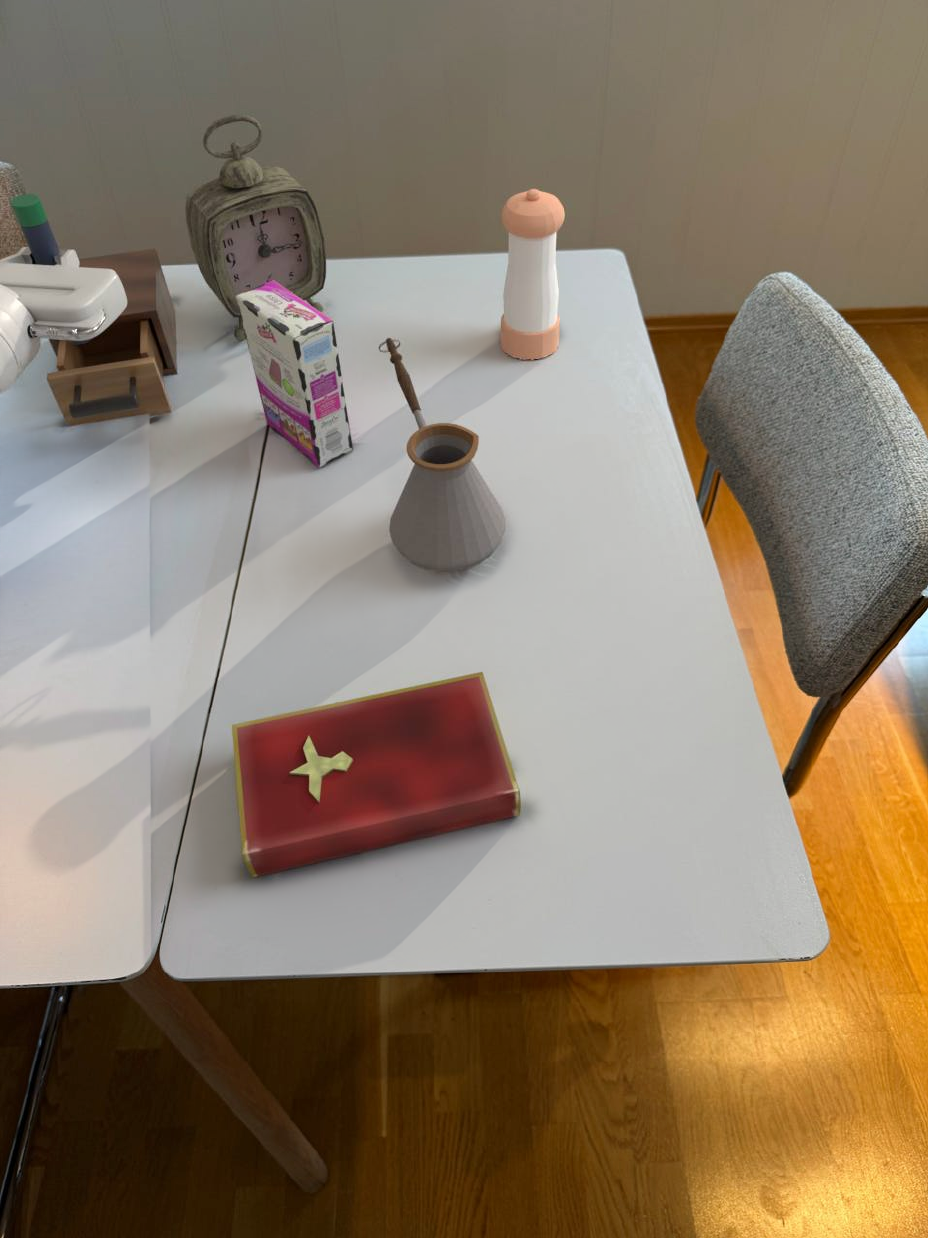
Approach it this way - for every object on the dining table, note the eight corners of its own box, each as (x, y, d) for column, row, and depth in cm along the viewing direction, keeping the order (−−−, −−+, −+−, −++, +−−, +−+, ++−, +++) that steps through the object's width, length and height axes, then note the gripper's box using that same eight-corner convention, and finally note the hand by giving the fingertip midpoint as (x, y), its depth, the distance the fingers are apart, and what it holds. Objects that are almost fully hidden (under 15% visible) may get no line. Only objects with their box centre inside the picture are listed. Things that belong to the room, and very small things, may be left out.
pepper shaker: (489, 350, 112) (487, 196, 97) (518, 321, 116) (521, 169, 101) (541, 367, 109) (547, 211, 95) (569, 337, 113) (578, 183, 99)
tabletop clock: (233, 351, 114) (177, 145, 95) (208, 318, 119) (151, 116, 100) (336, 316, 118) (303, 113, 99) (308, 286, 123) (272, 87, 104)
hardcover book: (520, 819, 71) (520, 793, 68) (254, 881, 68) (242, 858, 65) (483, 698, 78) (482, 669, 75) (242, 750, 76) (230, 722, 73)
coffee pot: (523, 567, 88) (526, 447, 77) (413, 601, 86) (399, 482, 74) (448, 439, 101) (441, 320, 90) (351, 465, 99) (330, 347, 87)
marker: (67, 346, 96) (8, 208, 85) (68, 333, 98) (11, 195, 87) (93, 342, 97) (38, 204, 85) (94, 329, 98) (40, 191, 87)
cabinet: (177, 374, 111) (156, 309, 104) (71, 390, 110) (43, 326, 103) (175, 310, 120) (155, 247, 114) (77, 325, 119) (51, 262, 112)
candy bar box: (356, 450, 101) (336, 319, 88) (320, 470, 99) (293, 339, 86) (300, 405, 106) (273, 276, 94) (264, 423, 104) (232, 294, 92)
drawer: (172, 439, 101) (154, 388, 96) (67, 457, 100) (42, 406, 95) (169, 348, 113) (153, 297, 108) (75, 362, 112) (54, 312, 106)
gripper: (77, 307, 79) (139, 229, 87) (-133, 293, 81) (-53, 219, 90) (102, 368, 83) (158, 289, 92) (-98, 353, 86) (-25, 278, 95)
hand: (52, 254), depth 91 cm, fingers closed on marker, 2 cm apart
